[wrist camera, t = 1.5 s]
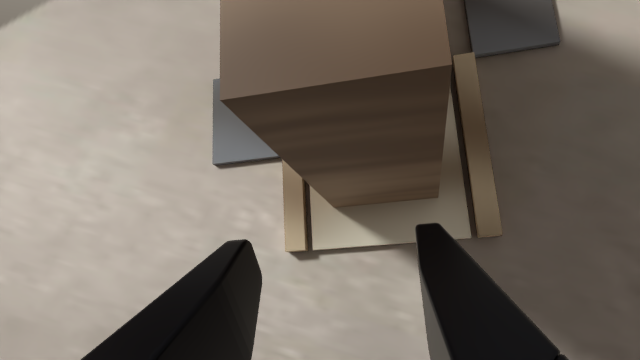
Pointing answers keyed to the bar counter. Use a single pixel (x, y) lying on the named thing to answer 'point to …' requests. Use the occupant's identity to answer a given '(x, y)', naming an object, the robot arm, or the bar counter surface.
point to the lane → (450, 207)
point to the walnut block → (343, 91)
